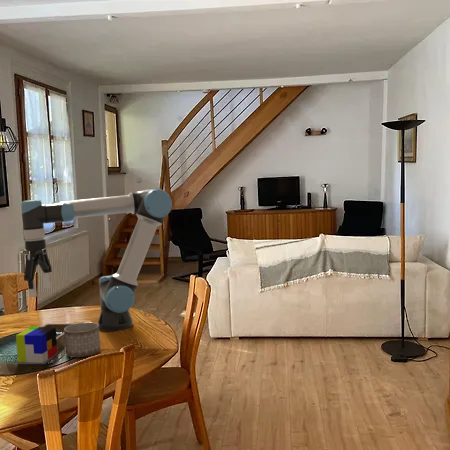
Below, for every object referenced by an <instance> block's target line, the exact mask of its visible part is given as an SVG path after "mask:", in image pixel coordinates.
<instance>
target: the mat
mask: <svg viewBox="0 0 450 450" xmlns="http://www.w3.org/2000/svg"><path fill="white" fill-rule="evenodd" d="M57 355H58V353H57V354H55V355H54V356H52V357H51V358H49V359H48V360H47V361H45V362H44V363H34V362H18V365H45V364H47V363H49V362H50V361H51V360H52V359H53V358H54V357H56V356H57Z"/></svg>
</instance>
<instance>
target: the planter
mask: <svg viewBox="0 0 450 450" xmlns="http://www.w3.org/2000/svg"><path fill="white" fill-rule="evenodd" d="M75 323H76V322H75ZM64 335H65V345H64V346H65V347H64V348H65V354H66V355H67V356H68V357H73V358H81V357H82V358H84V357H88V356H92V355H94V354H97V353H99V352H100V350H101V341H100V339H101V338H100V330H99V324H98V322H94V321H93V322H92V321H86V322H84V321H83V322H77V323H76V324H72V325H69V326H67V327H65V328H64Z"/></svg>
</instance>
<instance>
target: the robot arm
mask: <svg viewBox="0 0 450 450" xmlns="http://www.w3.org/2000/svg"><path fill="white" fill-rule="evenodd" d="M20 205H21V206H20V207H21V219H22V228H23V232H22V233H23V237H24V240H25V242H24V247H25V248H24V249H25V251H28V252H29V253H28V254H27V253H26V254H25V267H24V274H23V280H24V282H26V281H27V288H28V290H27V291H28V297H29V298H36V297H38V296H37V295H38V294H37V286H36V279H35V275H36V271H37V267H38V266H39V267H40V269H41V271H42V274H41V275H42V284H43V285H42V286H43V289H44V290H49V289H52V285H51V275H50V273H52V271H53V269H52V266H51V265H52V264H51V262H50V259H49V257H48V252H47V245H46V239H45V238H46V233H45V228H44V227H45V226H44V224H53V223H68V222H73V221H74V220H75V219H77V218H78V219H79V218H86V217H88V218H89V217H98V216H106V215H107V216H108V215H116V214H125V213H131V214H132V215H135V216H136V217H137V222H136V224H135V226H134V228H133V232H132V234H131V236H130V238H129V241H128V244H127V247H126V248H125V251H124V253H123V256H122V259H121V261H120V264H119V267H118V269H117V271H116V272H115V273H113V274H111V275H105V276H101V277H100V278H98V286H99V298H100V300H99V301H100V313H99V317H98V321H97V324H99V331H104V332H115V331H123V330H126V329H129V328H131V327H132V326H133V317H132V316H131V312H130V309H131V308H132V307H133V306H134V303H135V301H136V296H135V294H136V291H137V288H138V285H139V284H138V280H137V278H138V275H139V273H140V271H141V268H142V266H143V264H144V261H145V259H146V255H147V253H148V250H149V248H150V247H151V243H152V241H153V238H154V236H155V234H156V231H157V229H158V227H160V226H162V225H163V222H164V221H165V218H166V216H168V215H169V213H170V212H171V210H172V207H173V201H172V197H171V196H170V195H169V193H168V192H166V190H163V189H161V188H146V189H143V190H139V191H133V192H129V193H128V194H125V195H115V196H107V197H105V196H103V197H94V198H84V199H75V200H64V201H54V202H52V203H48V204H47V203H46V204H44V203H43V204H42V200H40V199H33V200H32V199H31V200H30V199H29V200H23V201H22V202H21V204H20Z"/></svg>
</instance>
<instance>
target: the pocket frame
mask: <svg viewBox="0 0 450 450" xmlns="http://www.w3.org/2000/svg"><path fill="white" fill-rule="evenodd" d="M72 324H76V322H75V323H71V322H70V323H45V324H44V325H42V326H41V327H56V332H62V334H60V335H56V340H57V351H59V350H60V349H62V347H64V346H65V335H64V328H65V327H67V326H69V325H72Z"/></svg>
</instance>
